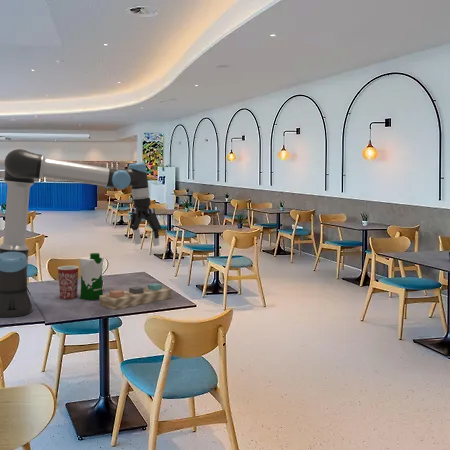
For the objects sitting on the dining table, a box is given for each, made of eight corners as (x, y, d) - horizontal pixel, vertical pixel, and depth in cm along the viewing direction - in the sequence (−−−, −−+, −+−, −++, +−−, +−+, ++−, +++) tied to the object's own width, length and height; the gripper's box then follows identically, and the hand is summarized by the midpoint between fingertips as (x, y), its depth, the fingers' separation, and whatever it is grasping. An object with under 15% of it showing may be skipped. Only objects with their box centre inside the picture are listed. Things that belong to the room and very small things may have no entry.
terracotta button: (115, 300, 230) (115, 292, 230) (109, 298, 233) (109, 291, 233) (124, 298, 233) (124, 291, 233) (118, 296, 236) (118, 289, 236)
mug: (72, 300, 241) (72, 269, 239) (54, 298, 243) (53, 268, 241) (86, 293, 253) (86, 264, 252) (68, 292, 255) (68, 263, 254)
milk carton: (92, 301, 240) (92, 255, 237) (76, 298, 244) (76, 253, 242) (106, 297, 247) (105, 252, 245) (90, 294, 252) (90, 251, 249)
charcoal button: (135, 296, 237) (135, 289, 237) (129, 294, 240) (129, 287, 240) (143, 294, 240) (143, 287, 240) (137, 293, 243) (137, 286, 243)
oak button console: (114, 309, 226) (114, 300, 226) (99, 304, 234) (99, 295, 233) (171, 298, 247) (171, 289, 247) (156, 293, 255) (156, 285, 254)
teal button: (153, 292, 244) (153, 286, 244) (147, 291, 247) (147, 284, 247) (161, 291, 247) (161, 284, 247) (155, 289, 250) (155, 283, 250)
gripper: (165, 196, 239) (171, 244, 242) (131, 196, 257) (137, 241, 260) (151, 198, 234) (157, 248, 237) (118, 199, 252) (124, 244, 255)
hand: (147, 244), depth 248 cm, fingers open, 13 cm apart
